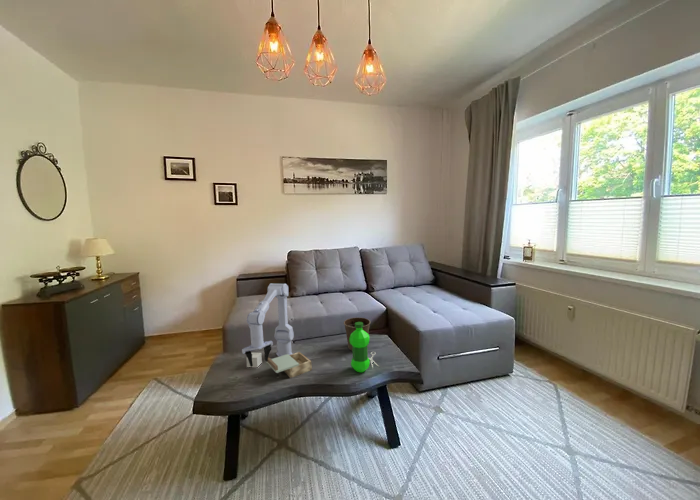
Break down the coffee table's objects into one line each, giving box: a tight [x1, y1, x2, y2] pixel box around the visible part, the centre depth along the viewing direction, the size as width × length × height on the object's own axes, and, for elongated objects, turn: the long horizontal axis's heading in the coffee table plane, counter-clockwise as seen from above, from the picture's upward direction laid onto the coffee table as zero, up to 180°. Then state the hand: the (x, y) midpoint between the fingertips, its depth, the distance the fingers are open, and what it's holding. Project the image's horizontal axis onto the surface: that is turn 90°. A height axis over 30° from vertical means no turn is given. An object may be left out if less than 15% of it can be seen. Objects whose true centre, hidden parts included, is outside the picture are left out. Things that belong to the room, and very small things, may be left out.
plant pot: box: [343, 316, 371, 351], centre depth 175 cm, size 16×16×16 cm
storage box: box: [283, 351, 313, 379], centre depth 153 cm, size 12×14×5 cm
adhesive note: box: [245, 352, 263, 368], centre depth 158 cm, size 6×6×6 cm
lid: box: [266, 354, 299, 374], centre depth 149 cm, size 12×14×3 cm
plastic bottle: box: [349, 322, 371, 373], centre depth 149 cm, size 10×10×25 cm
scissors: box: [368, 351, 379, 369], centre depth 160 cm, size 11×1×20 cm
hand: (258, 363), depth 141 cm, fingers open, 7 cm apart
